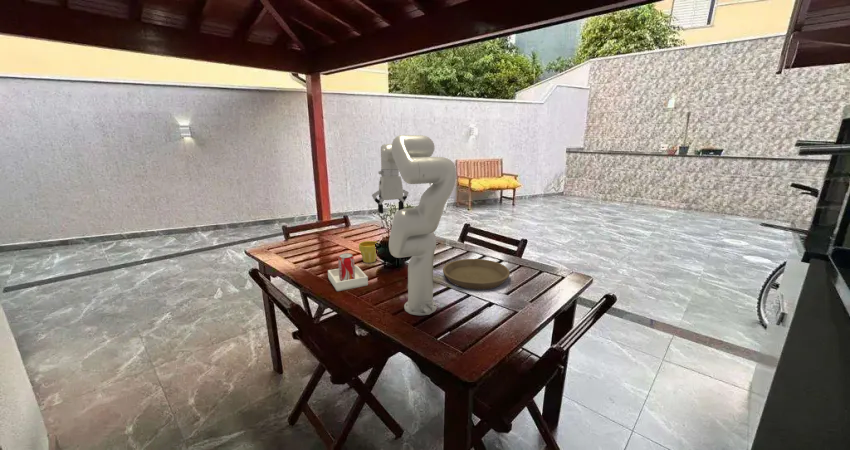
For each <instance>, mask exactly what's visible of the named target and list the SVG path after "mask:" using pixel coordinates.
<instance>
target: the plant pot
mask: <svg viewBox="0 0 850 450" xmlns="http://www.w3.org/2000/svg"><path fill="white" fill-rule="evenodd" d="M377 242H378V241H375V240H374V241H373V240H365V241H361V242H359V243H358V250H359V251H360V254H361V257H362V261H363V263H367V264H371V263H375V262H376V261H377V255H378V253H377V254H376V249H375V243H377Z"/></svg>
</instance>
